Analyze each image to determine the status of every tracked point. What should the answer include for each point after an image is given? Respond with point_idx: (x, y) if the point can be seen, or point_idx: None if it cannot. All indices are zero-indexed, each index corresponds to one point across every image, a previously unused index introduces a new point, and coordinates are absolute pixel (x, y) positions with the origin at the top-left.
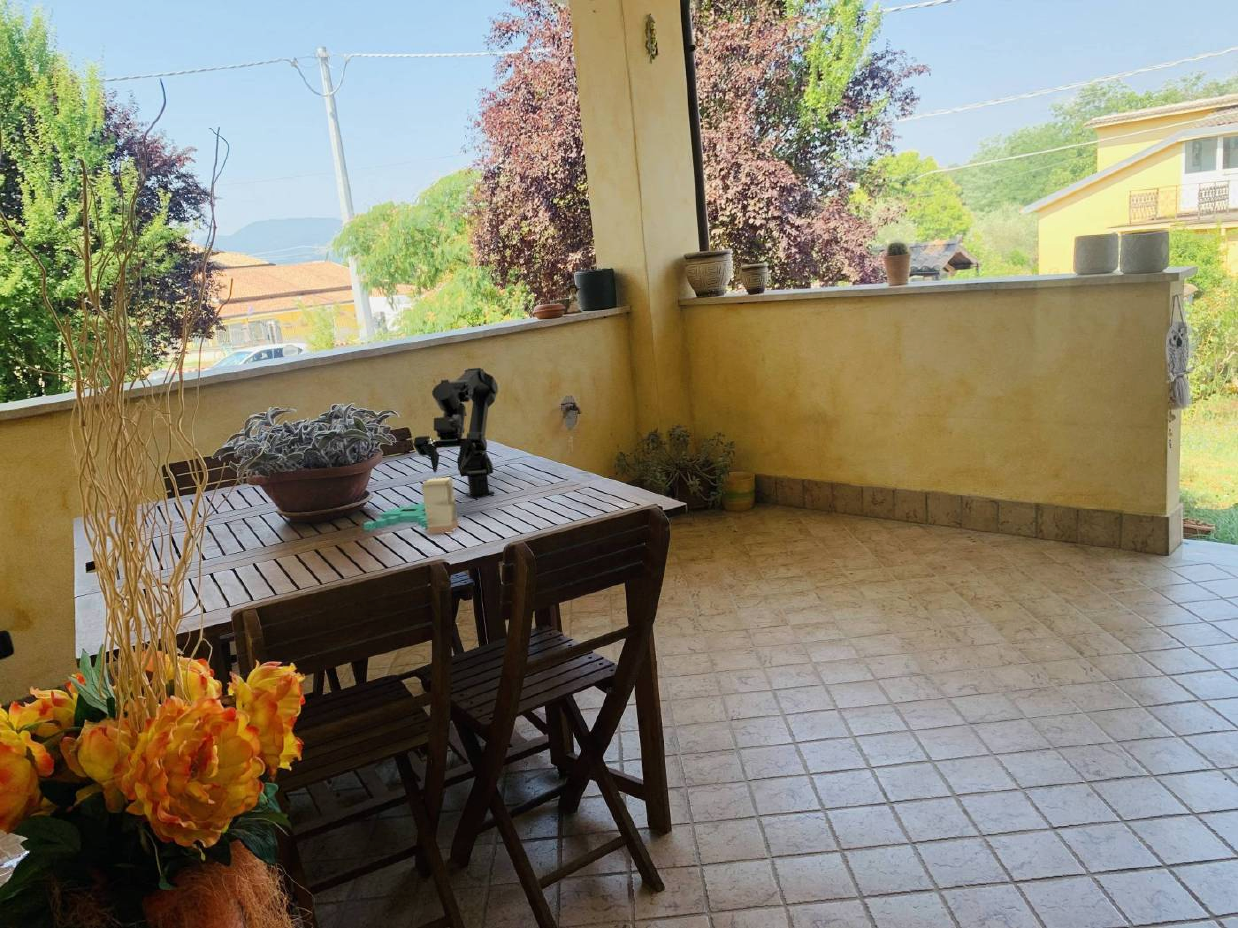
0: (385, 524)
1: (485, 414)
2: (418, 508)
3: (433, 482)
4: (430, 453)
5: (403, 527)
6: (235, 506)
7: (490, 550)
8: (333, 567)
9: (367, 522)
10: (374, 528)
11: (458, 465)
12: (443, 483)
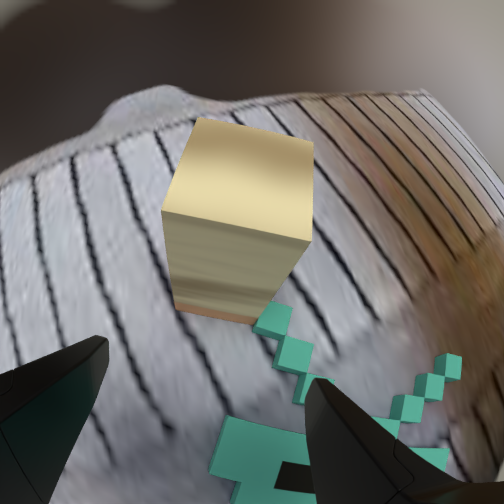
0: (418, 384)
1: None
2: None
3: (259, 152)
4: (432, 479)
5: (363, 361)
6: None
7: (113, 108)
8: (389, 140)
9: (459, 370)
10: (434, 368)
11: (92, 346)
12: (202, 118)
